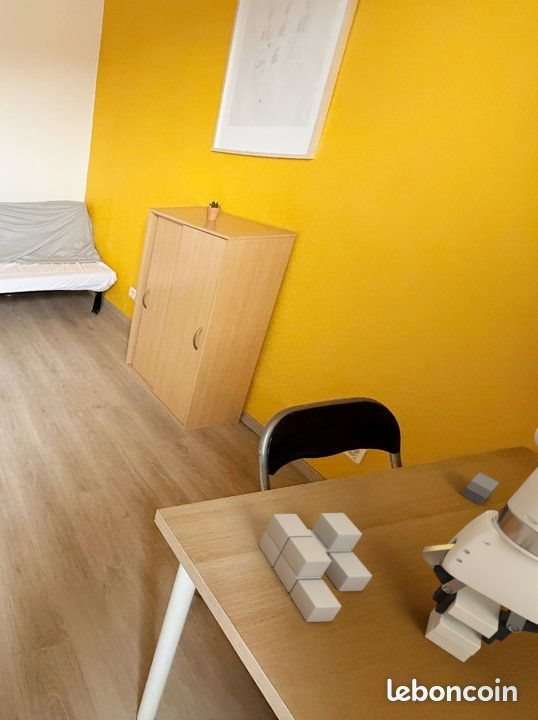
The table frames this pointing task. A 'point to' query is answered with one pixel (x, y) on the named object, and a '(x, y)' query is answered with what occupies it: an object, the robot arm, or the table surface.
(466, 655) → the ivory rectangular block
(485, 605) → the cream white block
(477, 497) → the grey blocks
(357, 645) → the table surface
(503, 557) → the robot arm
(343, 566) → the light grey block structure
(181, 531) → the table surface
